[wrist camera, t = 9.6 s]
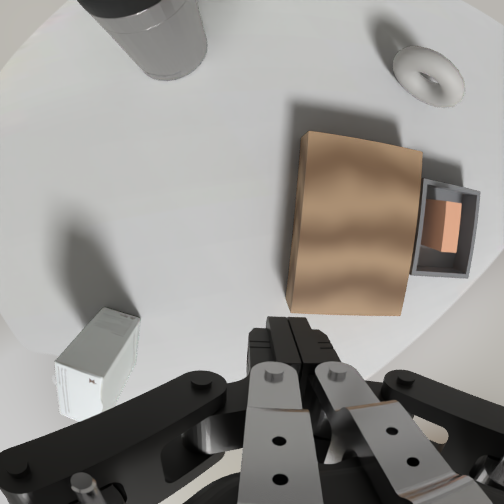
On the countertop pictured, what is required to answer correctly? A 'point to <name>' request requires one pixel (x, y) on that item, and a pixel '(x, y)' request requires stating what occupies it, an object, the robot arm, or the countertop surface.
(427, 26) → the countertop surface
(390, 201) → the chopping block
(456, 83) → the donut
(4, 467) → the robot arm
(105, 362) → the skincare box
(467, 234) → the bin
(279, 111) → the countertop surface
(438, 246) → the tile
